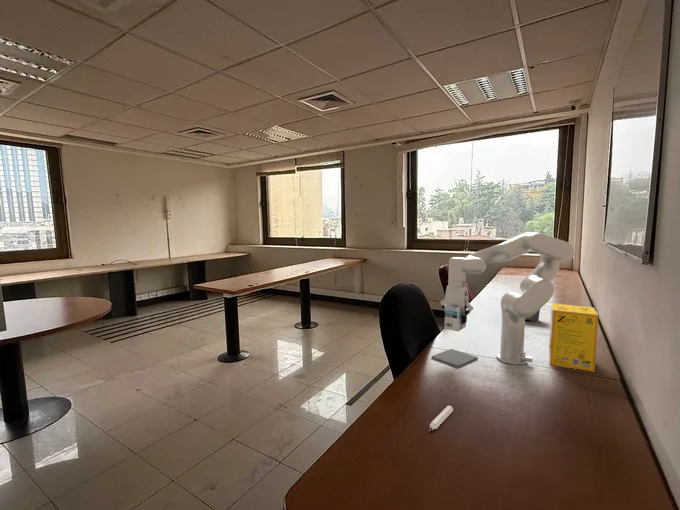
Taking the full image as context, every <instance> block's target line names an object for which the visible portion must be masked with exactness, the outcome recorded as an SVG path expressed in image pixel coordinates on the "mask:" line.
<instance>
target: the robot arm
mask: <svg viewBox="0 0 680 510" xmlns="http://www.w3.org/2000/svg"><path fill="white" fill-rule="evenodd" d="M528 253H535V254H539V262H538V264H537V266H536V267H535V268H534V269H533V270H532V271H531V272H530V273H528V275H526V277H525V278H524V279H522V281H521V282H520V284H519V290H520V291H521V292H522V293H518V292H515V291H508V292H506V293H504V294H503V295H502V297H501V299H500V309H501V332H500V334H501V336H500V352H498V353H497V354H496V358H497V360H499V361H501V362H503V363H506V364H510V365H518V366H521V365H525V364H527V363H531V364H532V363H533V361H534V358H533V357H532V356H530V355H527V352H526V351H525V350H524V349H525V348H524V347H525V334H526V333H525V332H526V331H525V329H526V321H525V318H529V317H531V316H532V315H534V314H535V313H536V312H537V311H538V310H539V309H540V310H541V309H542V308H543V307H544V306H545V305H546V304H547V303H548V302H549V300H551V299H552V298H553V296H554V294H555V286H554V284H553V283H552V281H553V280H554V279H555V278H556V277H557V275H558V274H559V272H560V262H566V261H568V260H571V259H572V258H573V256H574V254H575V249H574V246H573V245H572V244H571V243H570V242H569V241H566V240H562V239H559V238H556V237H553V236H550V235H547V234H544V233H541V232H525V233H522V234H520V235H517V236H515V237H513V238H511V239H508V240H505V241H503V242H502V243H499V244H496V245H492V246H490V247H486V248H484V249H481V250H478V251H476V252H473V253H471V254H469V255H466V256H465V257H462V256H461V257H460V256H452V257H450V258H449V259H448V276H447V277H448V280H447V283H448V285H446V289H445V295H444V298H443V299H442V300H440V301H439V303H440V305H441V307H442V309H443V311H444V312H445V306H447V305H452V306H456V307H460V308H461V312H462V316H461V324H465V323H466V324H467V320H468V315H469V314H470V313H472V311H473V310H474V307H473V306H472V305H471V304H470V302H469V301H470V300H469V298H470V297H469V291H468V285H469V283H468V282H467V281H466V279H467V274H473V275H481V274H482V273H484V272H485V271H486V268H487V265H490V264H494V263H504V262H505V263H506V262H509V261H511V260H514V259H516V258H520V257H521V256H523V255H525V254H528Z"/></svg>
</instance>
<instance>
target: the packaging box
mask: <svg viewBox="0 0 680 510" xmlns="http://www.w3.org/2000/svg"><path fill="white" fill-rule="evenodd" d="M550 308H551V309H550V310H551V311H550V326H549V327H550V328H549V329H550V330H549V346H548V347H549V349H548V360H549V362H548V363H549V366H553V365H554V366H555V367H559V366H561V368H565V367H567V368H566V369H570V368H574V369H573V370H576V369H581V370H587V371H593V372H595V370H596V356H597V342H598V341H597V340H598V339H597V338H598V327H599V326H598V324H599V314H598V312H597V311H596V309H595V308H594V307H591V306H582V305H573V304H572V305H571V304H563V303H562V304H561V303H551V307H550ZM581 370H580V371H581ZM587 371H586V372H587Z"/></svg>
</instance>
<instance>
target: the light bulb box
mask: <svg viewBox="0 0 680 510" xmlns="http://www.w3.org/2000/svg"><path fill="white" fill-rule="evenodd" d="M461 316H462V312H461V308H460V307H456V306H452V305H447V306H445V311H444V329H445V330H449V331H454V332H460V331H461V330H463V329H464V328H466V326H467V322H466V323H465V324H461Z"/></svg>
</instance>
